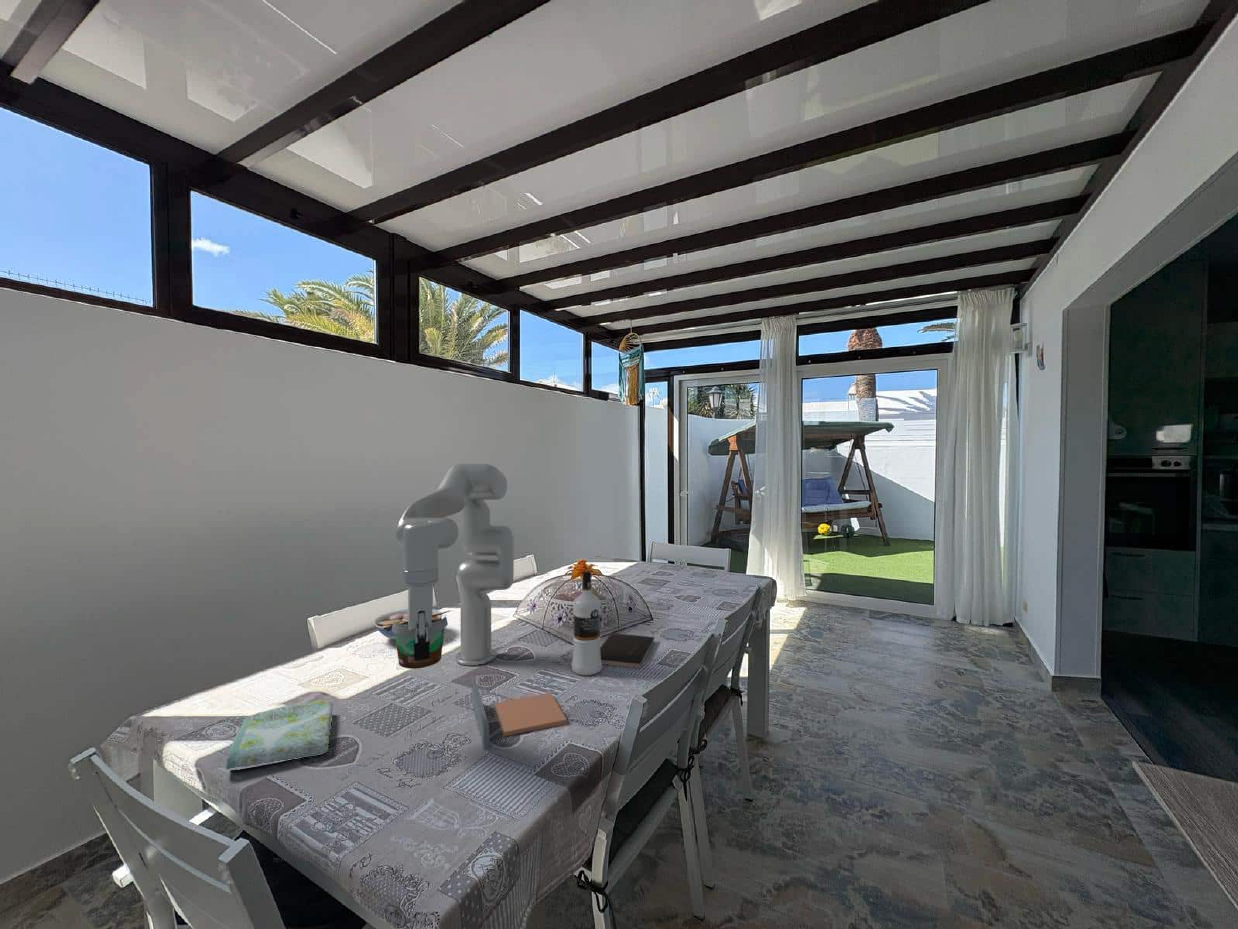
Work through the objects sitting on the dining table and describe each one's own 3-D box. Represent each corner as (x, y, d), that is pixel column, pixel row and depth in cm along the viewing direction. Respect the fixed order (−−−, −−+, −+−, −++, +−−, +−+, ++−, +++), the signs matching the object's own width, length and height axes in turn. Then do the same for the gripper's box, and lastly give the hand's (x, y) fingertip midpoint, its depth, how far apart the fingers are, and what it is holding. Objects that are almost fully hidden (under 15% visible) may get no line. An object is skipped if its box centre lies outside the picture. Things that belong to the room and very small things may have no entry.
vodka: (592, 661, 161) (592, 567, 160) (607, 671, 153) (608, 572, 152) (566, 668, 155) (566, 570, 155) (580, 679, 148) (580, 576, 147)
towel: (334, 713, 129) (334, 693, 129) (328, 758, 110) (328, 734, 110) (246, 730, 121) (246, 709, 121) (223, 781, 102) (223, 756, 102)
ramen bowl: (421, 622, 198) (421, 601, 198) (458, 634, 185) (458, 612, 185) (357, 641, 178) (357, 618, 178) (393, 656, 164) (393, 631, 164)
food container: (392, 674, 111) (392, 629, 111) (391, 664, 117) (391, 621, 117) (451, 664, 117) (451, 621, 117) (447, 655, 123) (447, 614, 122)
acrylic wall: (472, 704, 133) (472, 685, 133) (477, 703, 133) (477, 684, 133) (483, 749, 112) (483, 726, 112) (489, 748, 113) (489, 725, 113)
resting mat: (494, 706, 131) (494, 703, 131) (550, 696, 137) (550, 692, 137) (504, 736, 117) (504, 732, 117) (566, 723, 123) (566, 719, 123)
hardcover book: (654, 643, 178) (654, 637, 178) (640, 670, 155) (640, 662, 155) (610, 639, 182) (610, 633, 182) (590, 664, 159) (590, 657, 159)
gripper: (404, 569, 124) (404, 643, 124) (402, 586, 108) (403, 671, 108) (436, 567, 127) (437, 639, 127) (440, 583, 111) (440, 666, 111)
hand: (421, 653), depth 118 cm, fingers closed on food container, 5 cm apart
